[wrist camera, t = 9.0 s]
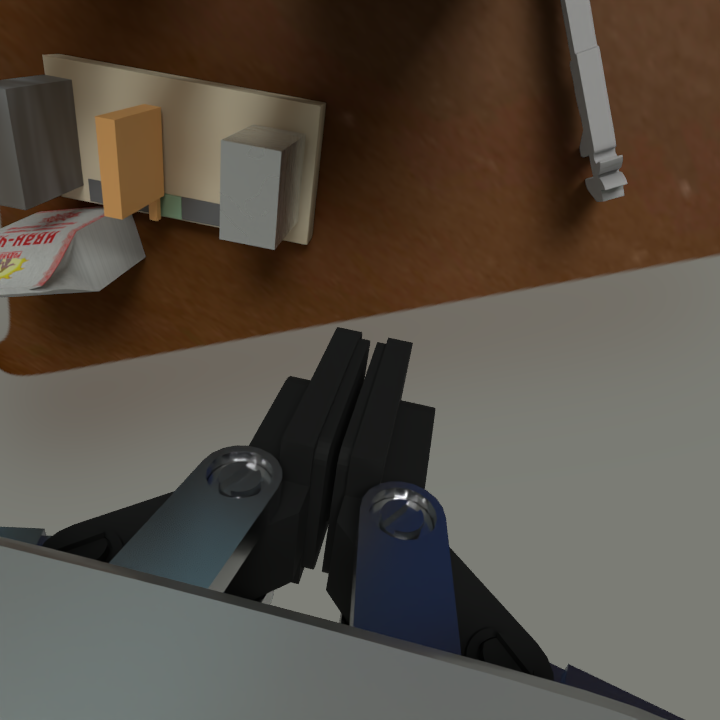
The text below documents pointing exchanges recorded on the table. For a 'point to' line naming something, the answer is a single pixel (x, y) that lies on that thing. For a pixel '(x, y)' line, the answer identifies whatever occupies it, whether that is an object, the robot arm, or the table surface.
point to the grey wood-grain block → (260, 185)
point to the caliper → (592, 102)
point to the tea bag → (66, 252)
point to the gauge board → (179, 135)
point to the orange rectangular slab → (131, 160)
